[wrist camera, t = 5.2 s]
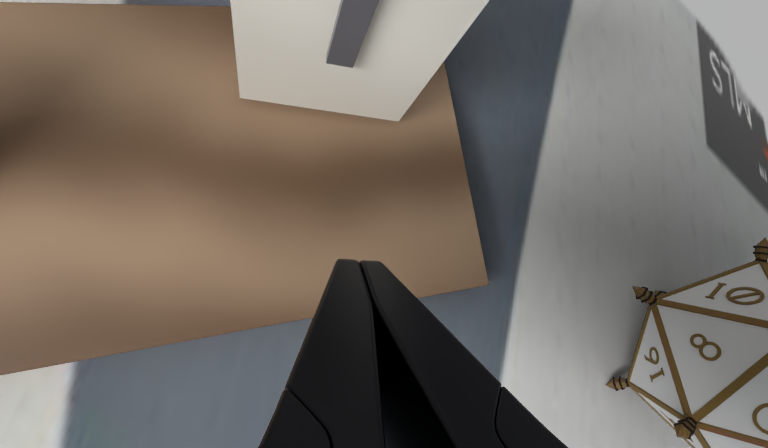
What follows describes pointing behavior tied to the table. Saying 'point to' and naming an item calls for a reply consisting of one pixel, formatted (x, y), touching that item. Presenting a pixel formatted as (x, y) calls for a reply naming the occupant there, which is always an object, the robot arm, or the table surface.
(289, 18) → the one stripe tile
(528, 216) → the table surface
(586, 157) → the table surface
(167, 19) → the brown wooden board
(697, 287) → the game die
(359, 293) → the robot arm
